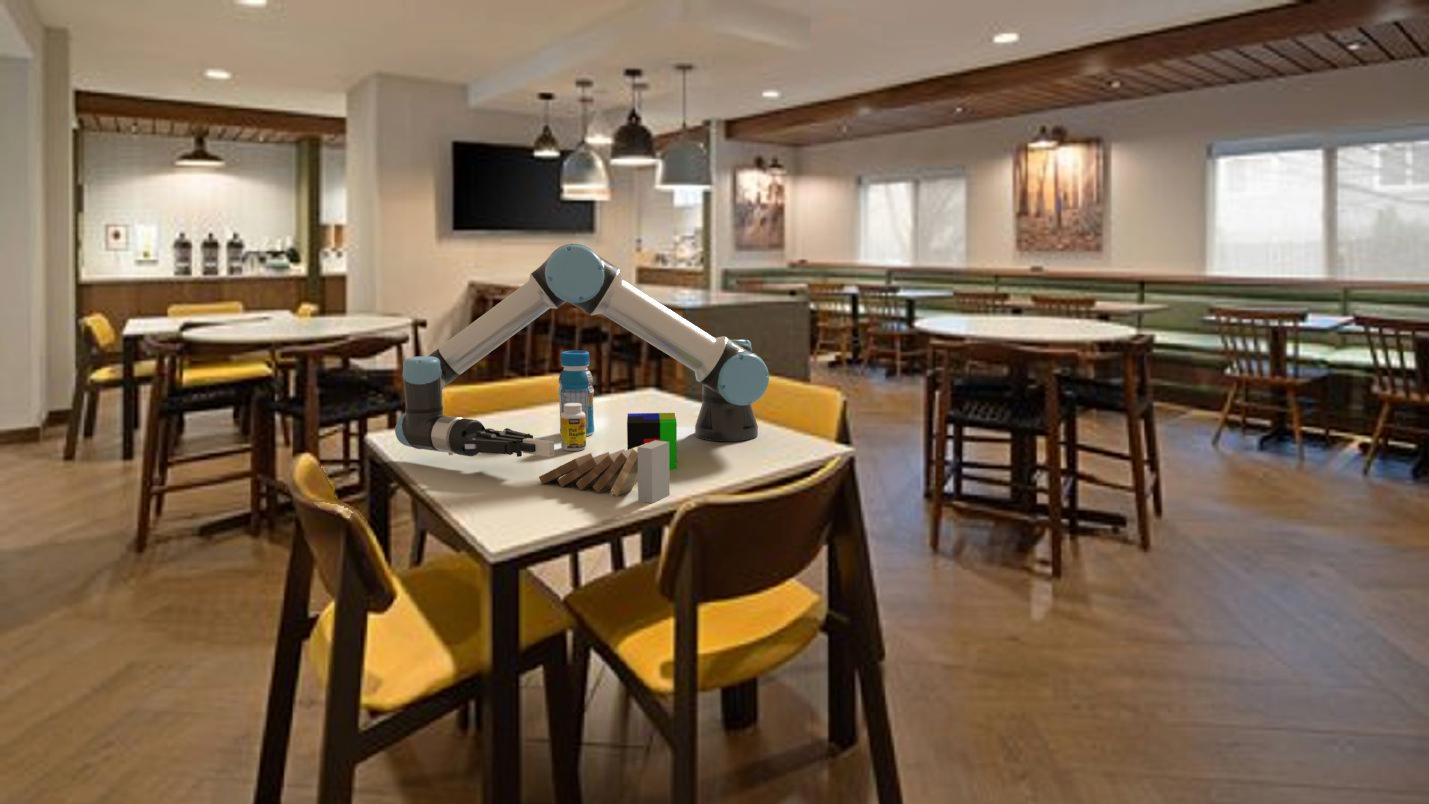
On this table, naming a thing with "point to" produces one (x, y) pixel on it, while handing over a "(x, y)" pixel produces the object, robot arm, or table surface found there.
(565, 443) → the supplement bottle
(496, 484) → the table surface
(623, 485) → the domino
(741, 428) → the robot arm
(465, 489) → the table surface
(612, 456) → the domino
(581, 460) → the domino
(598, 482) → the domino
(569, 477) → the domino
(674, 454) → the puzzle toy
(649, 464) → the rectangular block
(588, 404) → the beverage bottle
